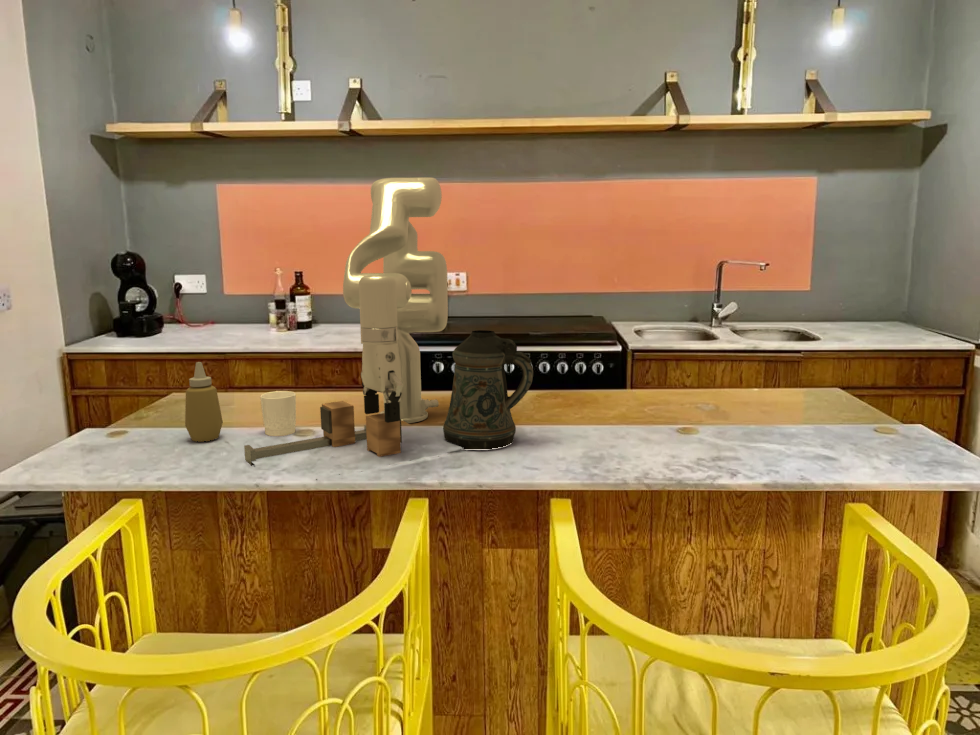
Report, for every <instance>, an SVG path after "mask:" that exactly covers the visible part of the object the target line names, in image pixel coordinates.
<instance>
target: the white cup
mask: <svg viewBox="0 0 980 735" xmlns="http://www.w3.org/2000/svg"><path fill="white" fill-rule="evenodd" d="M296 396H297V394H296V392H294V391H291V390H289V391H288V390H276V391H275V390H274V391H269V392H265V393H262V394H260V397H259V398H260V404H261V405H260V406H261V414H262V422H263V426H264V432H265V433H264V434H265V435H266V436H270V437H284V436H288V435H293V434H294V433H295V432H296V422H297V409H296V408H297V407H296V405H297V400H296V399H297V398H296Z"/></svg>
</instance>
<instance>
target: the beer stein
mask: <svg viewBox="0 0 980 735" xmlns="http://www.w3.org/2000/svg"><path fill="white" fill-rule="evenodd" d="M517 350H518V346H517V344H516V343H515V341H514V340H513V339H510V338H503V337H500V336H498V335H497V334H496V332H495V331H493V330H483V329H482V330H481V329H480V330H472V331H471V333H470V334H469V336H468V337H467V338H465V339H464V340H463V341H462V342H460V344H458V345H457V346H456V347H455V348H454V349H453V351H452V354H451V355H452V359H453V362H454V372H453V373H454V375H453V382H452V391H451V395H450V396H451V397H450V402H449V407H448V410H447V415H446V418H445V420H444V422H443V425H442V431H443V436H444V441H446V442H448V443H451V444H453V445H456V446H458V447H460V448H461V449H492V448H498V447H503V446H506V445H508V444H510V443H512V442H513V443H514V440H513V439H515V434H516V431H517V429H516V423H515V421H514V419H513V416H512V413H511V410H512V408H514V407H515V406H516V405H517V404H518V403H519V402H520V401H521V400H522V399H523V398H524V397H525V395H526V394H527V393H528V391H529V389H530V388H531V385H532V383H533V379H534V378H533V377H534V367H533V364H532V360H531V358H529V357H528V356H527V355H526V353H523V352H521V351H517ZM505 365H506V366H507V365H510V366H511V365H512V366H513V365H514V366H516V367H518V368H519V369H520V370H521V374H522V378H521V380H520V382H519V384H518V386H517V388H516V389H515V390H514V391H513V392H512V393H511V395H510V396H509V395H508V384H507V376H506V371H505V370H506V369H505ZM513 443H512V444H513Z"/></svg>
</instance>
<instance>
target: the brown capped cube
mask: <svg viewBox="0 0 980 735" xmlns="http://www.w3.org/2000/svg"><path fill="white" fill-rule="evenodd" d="M365 425H366V433H367V439H366V450H367V451H368V452H374V453H375V454H376V456H377V457H378V458H381V457H386V456H393V455H396V454H401V453H402V451H401V450H402V449H401V447H402V445H401V443H403V437H402V435H403V431H402V430H403V429H402V421H401V419H400V421H396V422H389V423H387V422H385V413H382V414H379V413H374V414H368V415H365Z"/></svg>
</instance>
